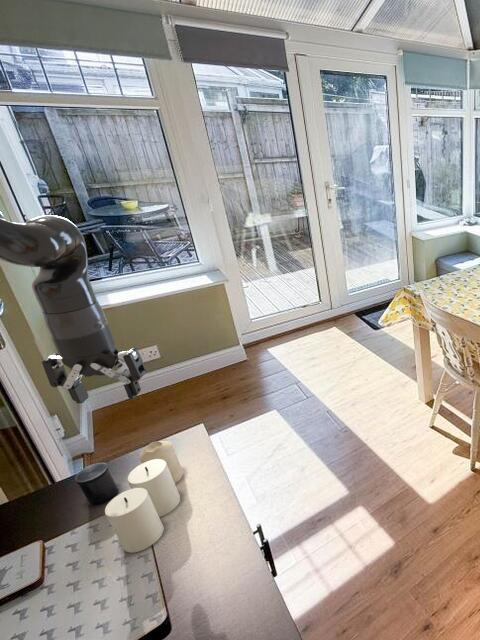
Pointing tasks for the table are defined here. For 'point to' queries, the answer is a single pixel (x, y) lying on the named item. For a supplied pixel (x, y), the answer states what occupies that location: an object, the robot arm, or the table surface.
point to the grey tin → (97, 483)
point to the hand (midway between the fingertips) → (109, 398)
